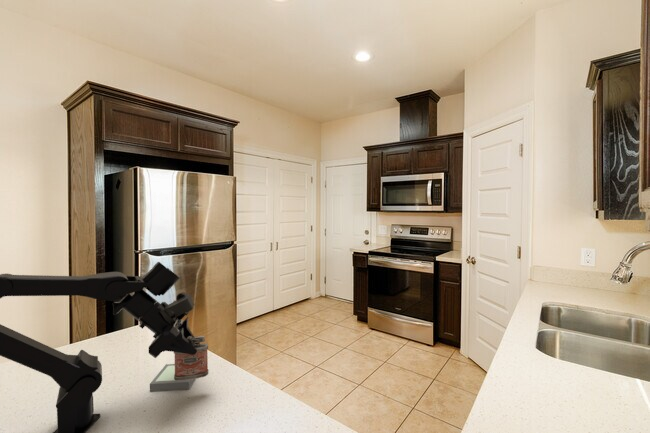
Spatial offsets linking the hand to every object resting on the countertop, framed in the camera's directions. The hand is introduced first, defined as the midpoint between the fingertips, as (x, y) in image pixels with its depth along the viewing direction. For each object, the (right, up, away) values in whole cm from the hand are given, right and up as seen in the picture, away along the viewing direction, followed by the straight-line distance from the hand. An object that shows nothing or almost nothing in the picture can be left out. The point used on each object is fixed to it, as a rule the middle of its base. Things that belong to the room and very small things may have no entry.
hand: (197, 349), depth 78 cm
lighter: (-1, -7, 0) cm, 7 cm away
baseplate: (-9, -12, +8) cm, 17 cm away
